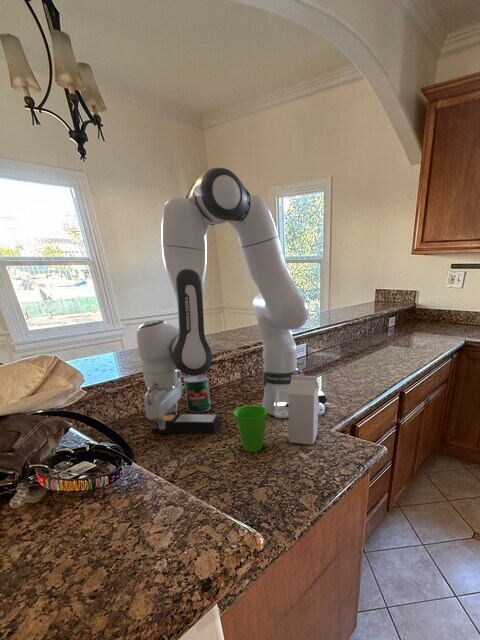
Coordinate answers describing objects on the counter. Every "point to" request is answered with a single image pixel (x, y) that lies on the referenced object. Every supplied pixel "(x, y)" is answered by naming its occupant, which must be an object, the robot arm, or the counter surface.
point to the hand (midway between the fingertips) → (168, 422)
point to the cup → (251, 426)
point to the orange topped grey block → (169, 420)
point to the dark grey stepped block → (192, 424)
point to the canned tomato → (197, 393)
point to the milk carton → (303, 409)
